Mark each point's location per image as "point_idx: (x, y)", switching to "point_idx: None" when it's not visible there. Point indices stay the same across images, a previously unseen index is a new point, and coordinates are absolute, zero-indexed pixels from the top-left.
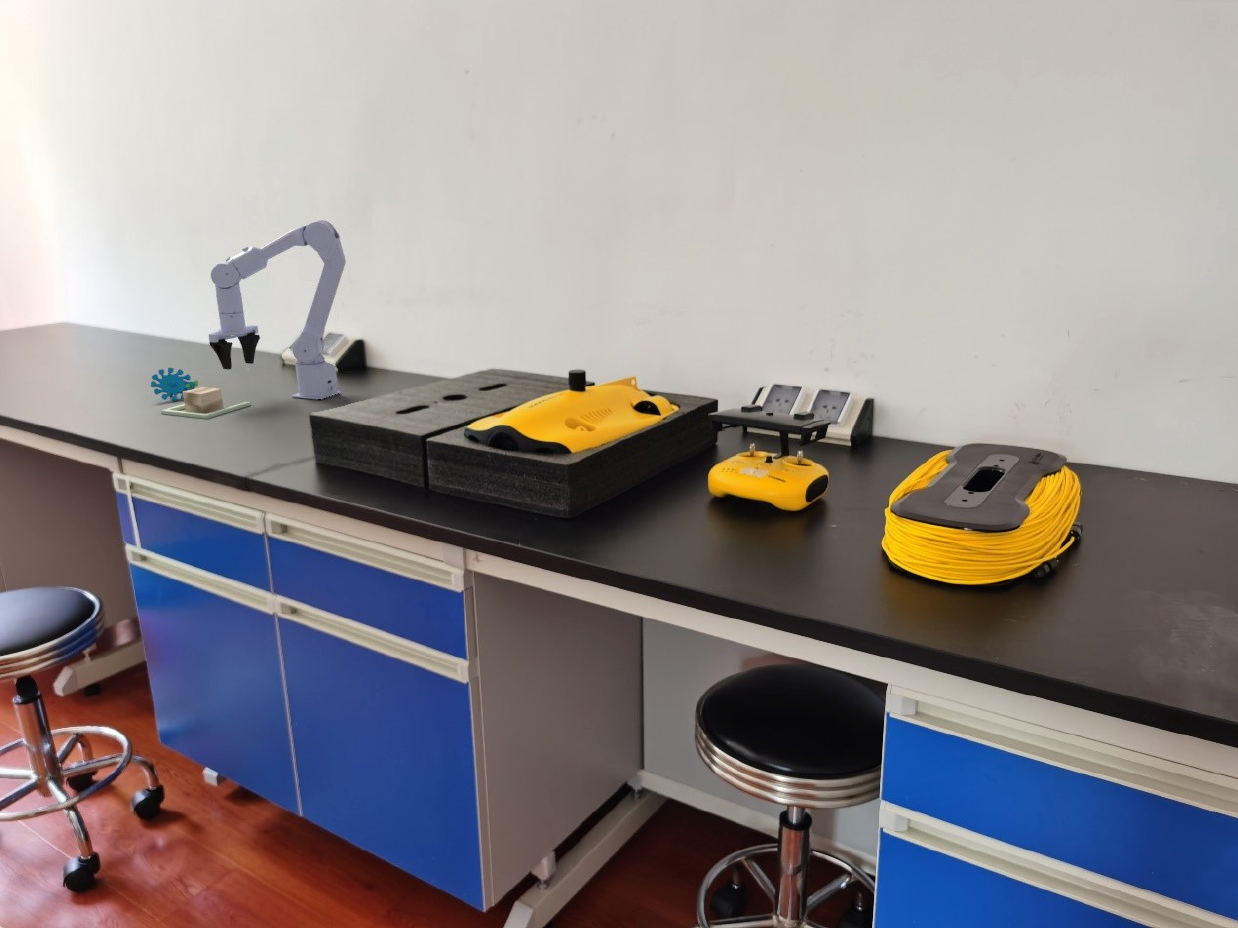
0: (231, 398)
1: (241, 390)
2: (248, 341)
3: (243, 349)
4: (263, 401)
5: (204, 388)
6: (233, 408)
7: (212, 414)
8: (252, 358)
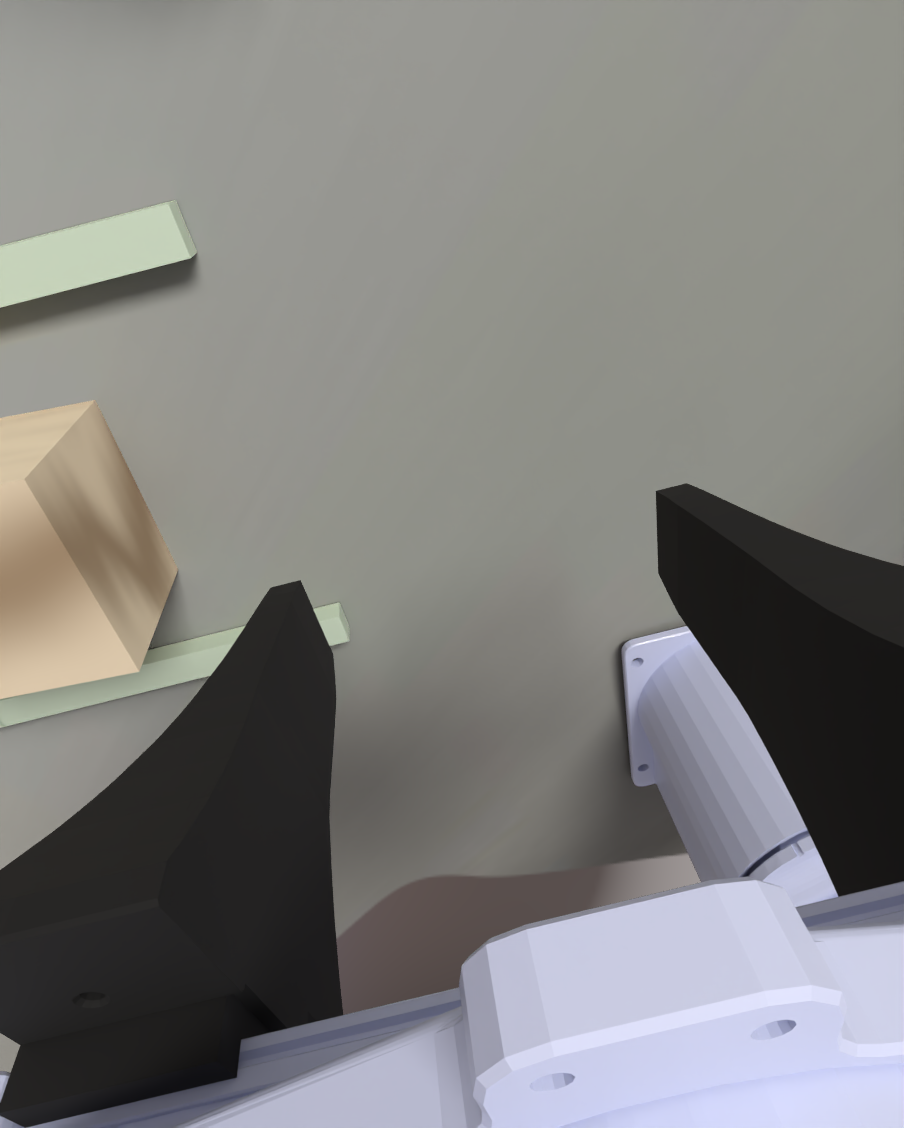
0: (385, 323)
1: (665, 55)
2: (834, 799)
3: (762, 586)
4: (464, 599)
5: (14, 559)
6: (201, 672)
7: (26, 718)
8: (693, 623)
